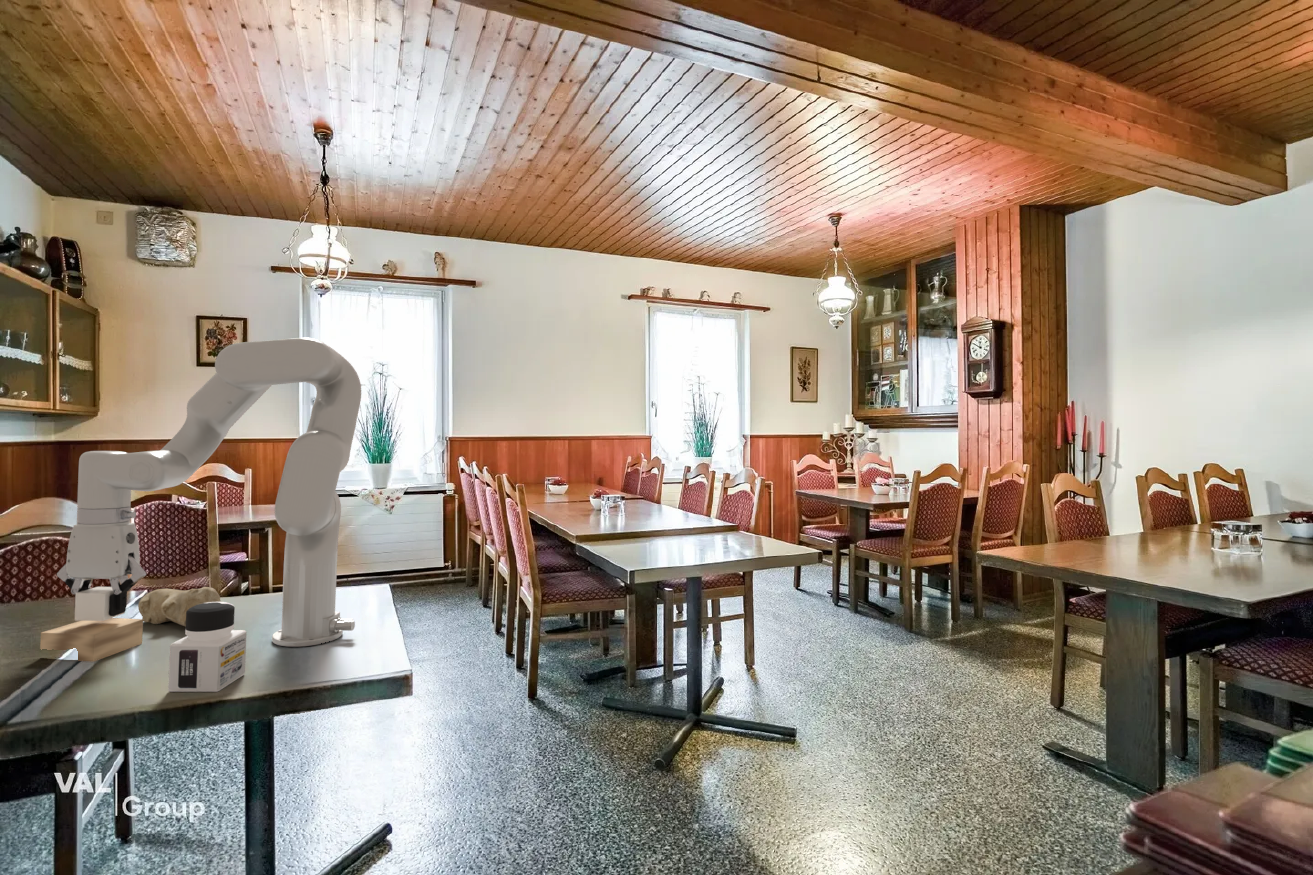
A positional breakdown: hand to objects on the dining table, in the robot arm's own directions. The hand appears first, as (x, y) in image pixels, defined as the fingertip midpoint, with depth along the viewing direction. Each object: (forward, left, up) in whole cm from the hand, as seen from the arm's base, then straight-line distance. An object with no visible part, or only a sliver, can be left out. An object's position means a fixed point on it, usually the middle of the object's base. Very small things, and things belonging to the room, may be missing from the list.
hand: (100, 612), depth 117 cm
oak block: (+1, +1, -7) cm, 7 cm away
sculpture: (-3, -16, -7) cm, 18 cm away
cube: (0, 0, -1) cm, 1 cm away
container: (-29, +16, -7) cm, 34 cm away
